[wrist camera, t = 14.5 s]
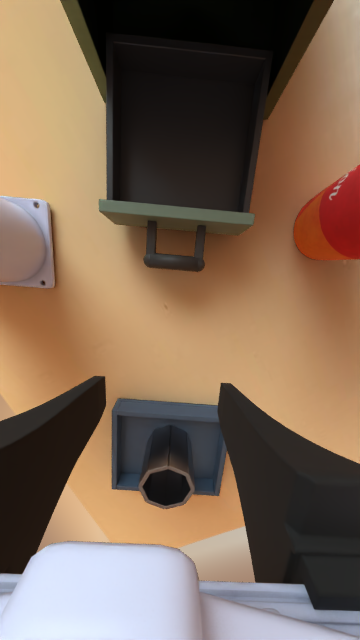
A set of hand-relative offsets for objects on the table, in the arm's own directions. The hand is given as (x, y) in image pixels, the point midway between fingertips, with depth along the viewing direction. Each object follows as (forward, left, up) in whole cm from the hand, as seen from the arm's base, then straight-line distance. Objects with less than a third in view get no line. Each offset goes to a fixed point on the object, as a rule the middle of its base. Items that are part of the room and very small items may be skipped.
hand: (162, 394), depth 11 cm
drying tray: (+1, -13, -9) cm, 16 cm away
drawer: (0, +15, -8) cm, 17 cm away
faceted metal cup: (+1, -13, -9) cm, 16 cm away
